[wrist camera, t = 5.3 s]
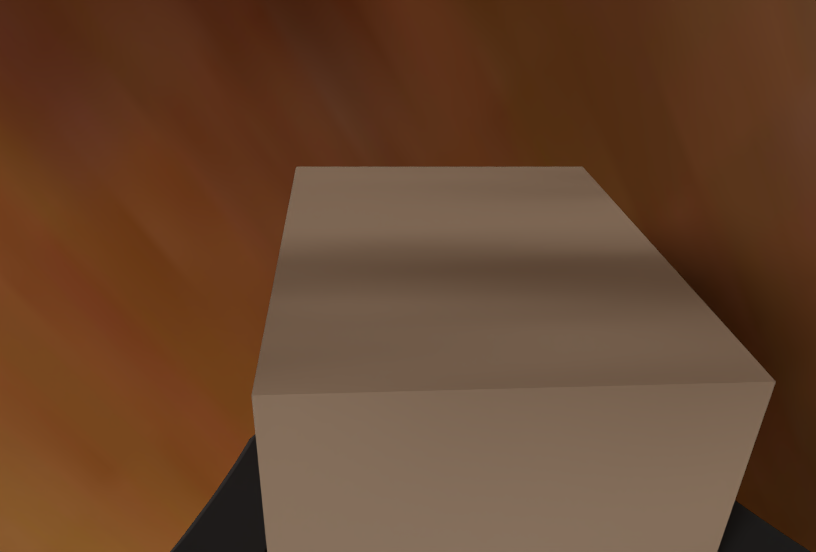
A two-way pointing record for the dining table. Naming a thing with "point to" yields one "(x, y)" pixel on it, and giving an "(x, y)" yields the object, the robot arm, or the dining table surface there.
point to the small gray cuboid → (491, 372)
